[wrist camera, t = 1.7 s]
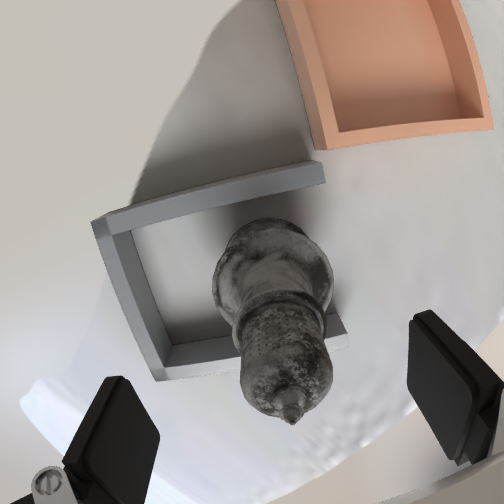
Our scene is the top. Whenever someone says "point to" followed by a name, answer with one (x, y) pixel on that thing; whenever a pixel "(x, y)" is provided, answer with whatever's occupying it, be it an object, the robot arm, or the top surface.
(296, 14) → the dish
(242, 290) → the chess piece
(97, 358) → the top surface
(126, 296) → the cubby
